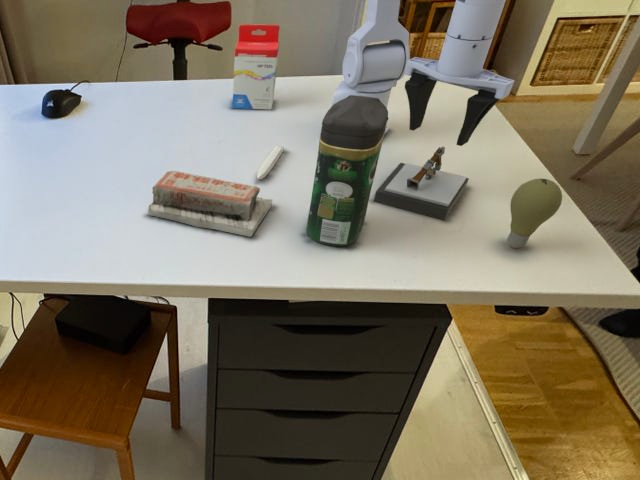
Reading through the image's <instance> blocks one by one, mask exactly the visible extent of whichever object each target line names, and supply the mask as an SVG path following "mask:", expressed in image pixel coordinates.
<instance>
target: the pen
mask: <svg viewBox="0 0 640 480" xmlns="http://www.w3.org/2000/svg"><path fill="white" fill-rule="evenodd" d="M284 150H285V147H284V145H282V144H277V145H275V146H274V147H273V149H271V151H270V153H268V155H267V157H266V158H265V159H264V161H263V163H262V164H261V165H260V167H259V168H258V170H257V172H256V179H257V180H263V179H265V178H266V176H268V174H270V172H271V171H272V169H273V168H274V166H275V165H276V163H277V162H278V160H279V159H280V157H281V156H282V154H283V152H284Z"/></svg>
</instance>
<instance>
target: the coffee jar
mask: <svg viewBox="0 0 640 480" xmlns="http://www.w3.org/2000/svg"><path fill="white" fill-rule="evenodd" d="M389 119H390V117H389V110H388V107H387V108H386V107H385V105H384V104H383V103H382V102H381V101H380V100H379V99H378V98H373V97H365V96H356V95H349V96H348V97H347V98H345V99H342V100H340V101H338V102H337V103H335V104H334V105H333V106H332V105H331V106H330V107H329V108H328V110H327V112H326V113H325V114H324V117H323V118H322V123H321V129H320V134H319V140H318V150H317V158H316V166H315V172H314V177H313V184H312V185H313V186H312V191H311V198H310V205H309V210H308V215H307V216H308V217H307V222H306V227H305V228H306V229H305V232H306V235H307V236H308V237H309V238H310V239H311V240H314V241H316V242H317V243H318V244H319V243H320V244H323V245H326V246H332V247H333V246H334V247H337V246H338V247H339V246H349V245H351V244H352V243H354V242H355V241H357V238H358V237H359V235H361V232H362V230H363V228H364V224H365V219H366V215H367V211H368V206H369V201H370V196H371V192H372V188H373V184H374V180H375V176H376V171H377V167H378V163H379V158H380V154H381V151H382V145H383V141H384V136H385V134H386V133H385V128H386V127H387V124H388V121H389ZM384 133H385V134H384Z"/></svg>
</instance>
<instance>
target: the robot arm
mask: <svg viewBox="0 0 640 480" xmlns="http://www.w3.org/2000/svg"><path fill="white" fill-rule="evenodd" d="M366 2H367V4H366V14H365V22H364V23H363V24H362V25H361V26H360V27H359V28H358V29H357V30H356V31H355V32H353V34H351V35H350V36H349V37H348V39H347V44H346V51H345V54H344V56H343V59H342V77H343V80H341V81H340V82H339V84H338V85H337V87H336V89H335V92H334V94H333V98H332V103H331V107H332V106H333V105H334V104H335V103H337V102H338V101H340V100H342V99H345V98H347V97H348V96H349V95H356V96H365V97H373V98H378V99H379V100H380V101H381V102H382V103H383V104H384V105H385V107H386V108H387V109H388V105H389V102H390V97H391V92H392V88H396V87H397V84H398V81H401V80H402V79H403V78H404V76H409V79H408V80H406V81H405V82H404V91H405V93H406V96H407V100H408V106H409V107H408V109H409V131H412V132H414V131H416V130H417V129H419V128H421V126H422V125H423V122H424V119H425V115H426V111H427V107H428V104H429V101H430V99H431V96H432V93H433V91H434V89H435V87H436V84H437V82H439V83H440V82H441V83H444V84H448V85H452V86H456V87H458V88H459V87H460V88H463V89H468V90H472V91H476V92H477V94H476V93H475V94H474V95H471V96H470V97H468V98H467V101H466V110H465V115H464V119H463V123H462V126H461V128H460V132H459V134H458V137H457V141H456V146H460V147H462V146H464V145H465V144H467V143H468V142H469V140H470V139H471V137H472V135H473V134H474V132H475V130H476V129H477V127H478V126H479V125H480V123H481V121H482V120H483V119H484V118H485V116H486V115H487V114H488V113H489V112H490V111H491V110H492V108H493V107H494V106H495V105H496V104H497V103H498V102H499V101H500V100H504V99H505V98H507V97H508V96H509V95H510V94H511V91H512V89H513V86H514V84H515V79H511V78H507V77H505V76H502V75H499V74H497V73H496V72H493V71H490V70H487V69H485V68H484V65H485V62H486V60H487V57H488V54H489V51H490V47H491V45H492V42H493V39H494V36H495V34H496V30H497V27H498V24H499V22H500V19H501V16H502V14H503V13H502V12H503V10H504V7H505V4H506V2H507V0H455V3H454V6H453V10H452V13H451V16H450V20H449V24H448V26H447V30H446V33H445V34H446V35H445V37H444V40H443V44H442V48H441V51H440V55H439V58H438V59H430V58H423V57H417V56H414V57H412V58H411V53H410V46H409V45H410V43H409V42H410V32H409V31H408V30H407V29H406V28H405V27H404V26H403V25H402V24H401V23H400V21H399V14H400V7H401V0H367V1H366ZM387 41H389V42H387ZM381 42H382V43H381ZM372 43H374V44H372ZM389 130H390V129H389V127H387V126H386V128H385V133H384V135H386V133H388V131H389Z"/></svg>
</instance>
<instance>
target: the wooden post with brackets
mask: <svg viewBox="0 0 640 480" xmlns="http://www.w3.org/2000/svg"><path fill="white" fill-rule="evenodd" d="M445 150H446V147H445V146H441V147H440V146H439V147H438V148H437V149H436V150H435V151H434V152H433V155H432V156H431V157H430V159H427V161H425V163H424V164H423V166H422V169H421V170H420V172H418V173H417V174H416V175H415V176H414V177H413V178H412V179H411V178H408V179H407V187H408V188H410V189H413V190H416V191H417V190H418V189H419V183H420V181H421V180H422V178H423V177H424V175H425V174H426V177H425V179H431V178H432V176H433V175H435V174H436V170H437V171H441V167H442V165H443V162H442V156H443V155H444V154H445Z"/></svg>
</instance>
